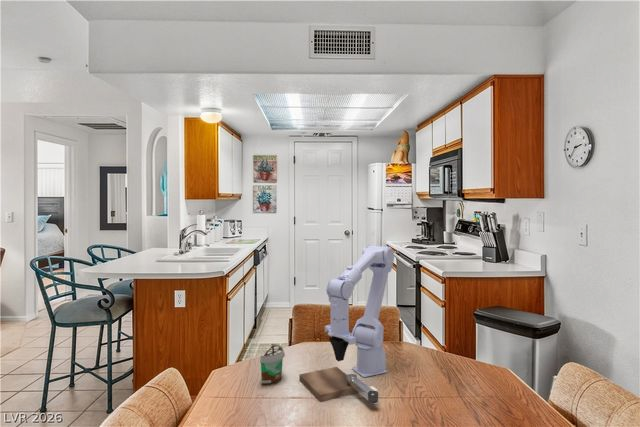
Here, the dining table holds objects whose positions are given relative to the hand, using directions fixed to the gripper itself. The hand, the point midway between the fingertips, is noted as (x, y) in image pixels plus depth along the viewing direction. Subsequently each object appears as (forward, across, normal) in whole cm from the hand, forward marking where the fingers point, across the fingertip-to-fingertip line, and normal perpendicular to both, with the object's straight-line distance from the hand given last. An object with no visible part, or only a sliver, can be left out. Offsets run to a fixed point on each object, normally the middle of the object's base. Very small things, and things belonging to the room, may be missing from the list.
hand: (339, 360), depth 130 cm
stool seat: (+9, -3, -2) cm, 10 cm away
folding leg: (+7, +9, +2) cm, 12 cm away
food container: (+10, -17, -15) cm, 24 cm away
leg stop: (+9, +12, +4) cm, 16 cm away
